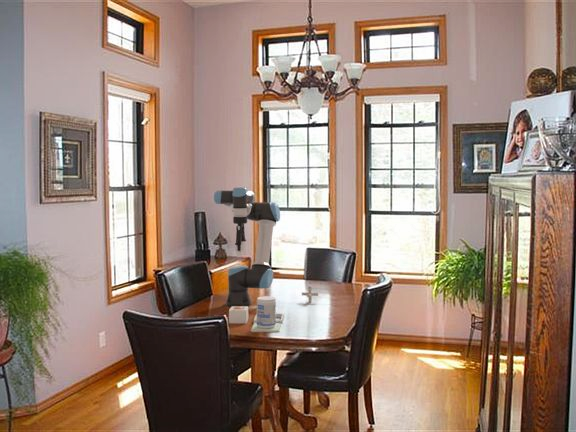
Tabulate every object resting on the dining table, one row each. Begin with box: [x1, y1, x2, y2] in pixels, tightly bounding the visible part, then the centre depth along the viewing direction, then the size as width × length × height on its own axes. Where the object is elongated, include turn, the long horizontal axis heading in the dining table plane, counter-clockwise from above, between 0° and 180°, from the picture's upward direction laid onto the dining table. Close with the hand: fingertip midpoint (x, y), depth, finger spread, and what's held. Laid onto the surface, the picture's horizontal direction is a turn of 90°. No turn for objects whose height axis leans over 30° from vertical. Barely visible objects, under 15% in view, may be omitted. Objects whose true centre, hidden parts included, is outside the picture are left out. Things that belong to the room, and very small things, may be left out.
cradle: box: [253, 312, 285, 325], centre depth 305 cm, size 15×15×2 cm
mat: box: [250, 322, 282, 333], centre depth 289 cm, size 14×14×1 cm
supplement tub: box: [256, 295, 277, 329], centre depth 289 cm, size 10×10×15 cm
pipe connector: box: [301, 285, 319, 304], centre depth 349 cm, size 10×10×10 cm
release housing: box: [228, 306, 249, 324], centre depth 304 cm, size 9×9×7 cm
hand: (240, 255), depth 310 cm, fingers open, 13 cm apart
